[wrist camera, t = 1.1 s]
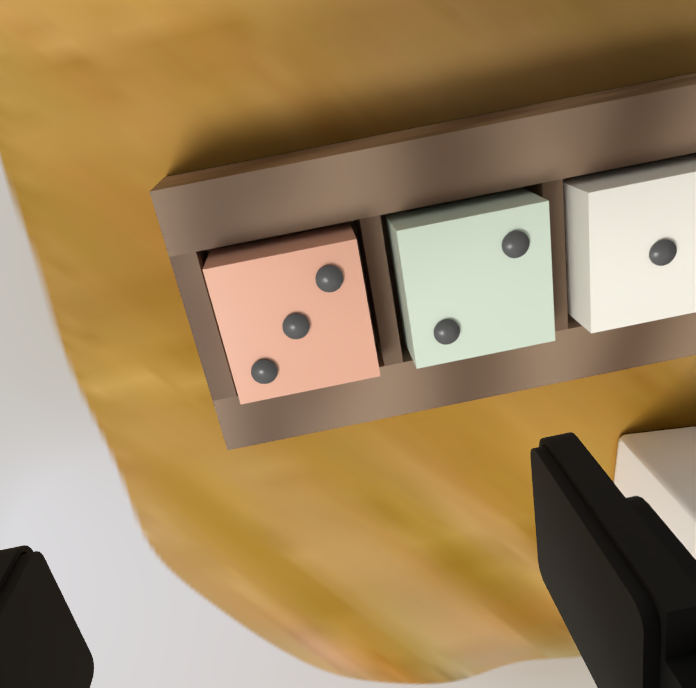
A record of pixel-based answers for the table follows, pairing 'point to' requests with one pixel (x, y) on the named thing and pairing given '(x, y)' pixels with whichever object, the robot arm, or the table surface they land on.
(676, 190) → the button one cream
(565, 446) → the robot arm
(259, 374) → the button three terracotta
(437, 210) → the button two sage
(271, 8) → the table surface
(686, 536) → the medicine bottle
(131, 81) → the table surface
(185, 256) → the button board
